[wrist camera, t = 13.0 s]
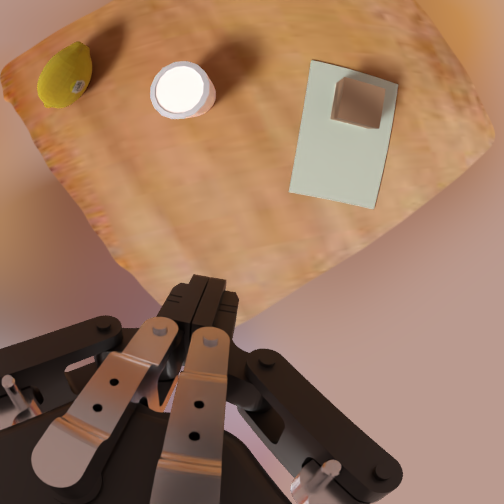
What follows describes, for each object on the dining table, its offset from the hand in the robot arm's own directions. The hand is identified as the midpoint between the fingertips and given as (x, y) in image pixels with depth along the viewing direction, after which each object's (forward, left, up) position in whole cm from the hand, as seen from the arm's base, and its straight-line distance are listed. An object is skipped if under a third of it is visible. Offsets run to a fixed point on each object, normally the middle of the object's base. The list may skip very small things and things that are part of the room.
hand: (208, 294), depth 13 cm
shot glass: (-11, -9, -27) cm, 31 cm away
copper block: (-13, +11, -22) cm, 28 cm away
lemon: (-14, -28, -27) cm, 42 cm away
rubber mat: (-9, +11, -27) cm, 31 cm away
